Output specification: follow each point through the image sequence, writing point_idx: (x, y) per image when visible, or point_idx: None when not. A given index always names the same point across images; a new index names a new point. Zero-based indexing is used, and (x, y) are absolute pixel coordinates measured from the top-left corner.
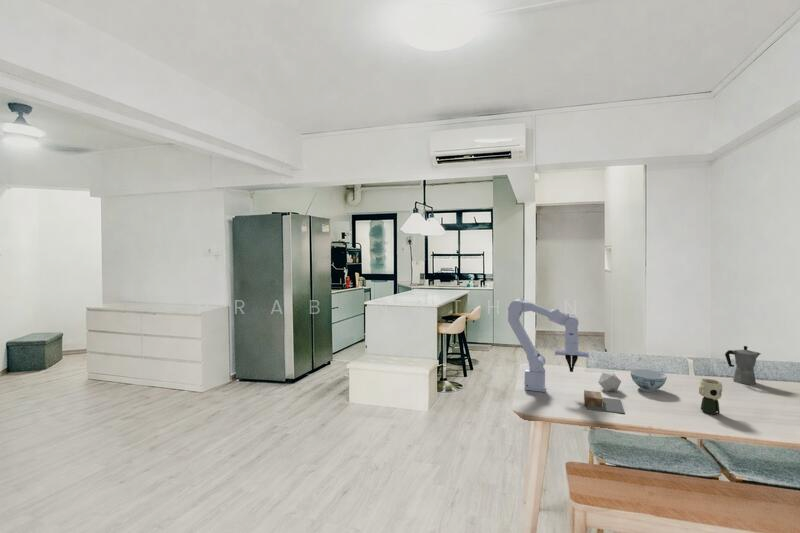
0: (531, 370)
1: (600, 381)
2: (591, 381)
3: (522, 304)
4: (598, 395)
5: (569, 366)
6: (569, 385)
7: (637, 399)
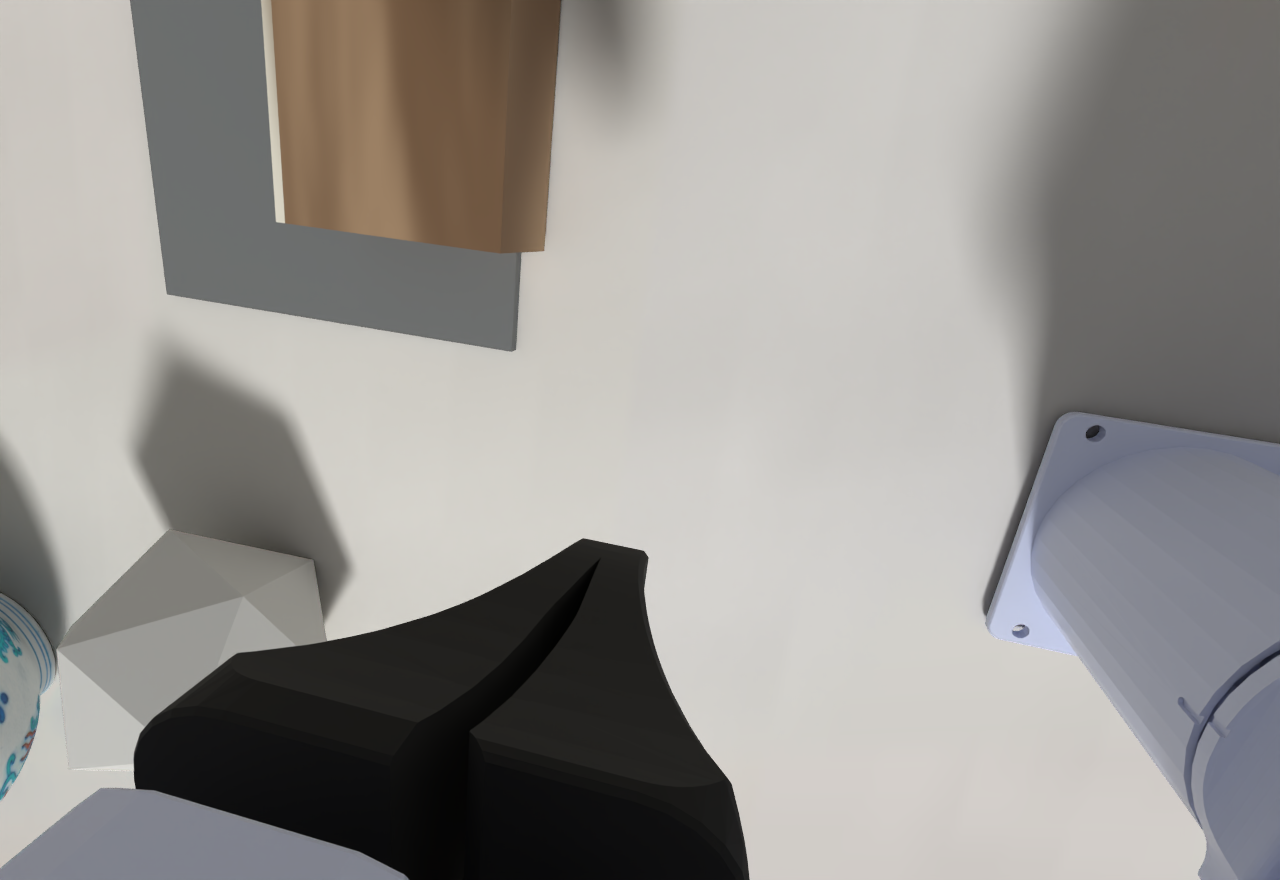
0: None
1: None
2: None
3: None
4: (310, 33)
5: (630, 604)
6: None
7: (46, 365)
